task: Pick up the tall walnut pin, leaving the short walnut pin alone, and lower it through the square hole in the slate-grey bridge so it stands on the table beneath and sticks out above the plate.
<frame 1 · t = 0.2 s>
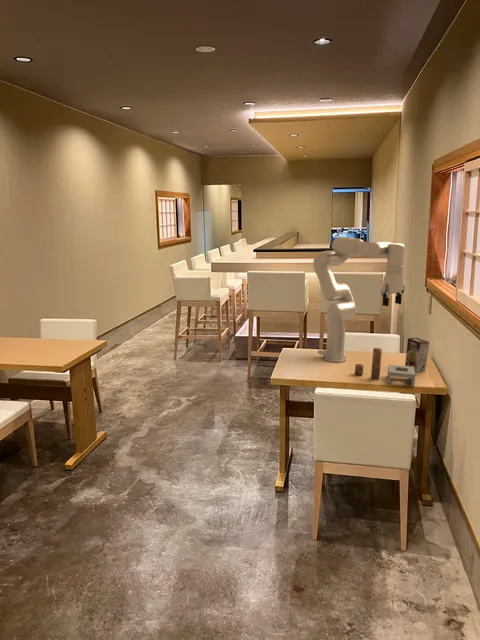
hand: (391, 304, 244), 36 cm above the table, tool pointing down, fingers open, 9 cm apart
bridge: (400, 381, 245), on the table
long pin: (375, 378, 248), on the table
short pin: (358, 374, 253), on the table
coffee box: (415, 369, 263), on the table
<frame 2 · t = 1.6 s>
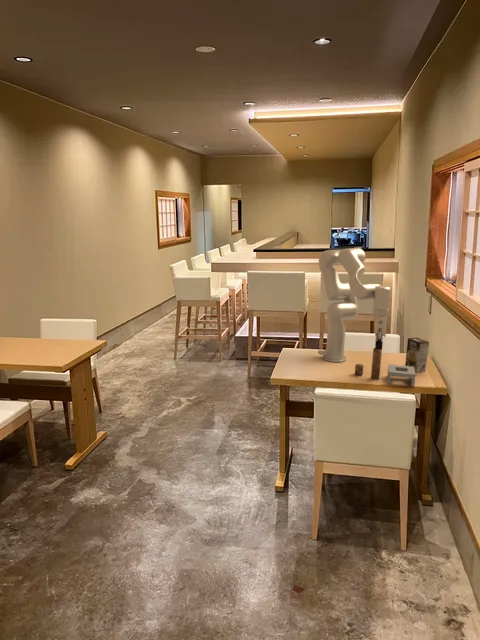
hand: (378, 346, 244), 16 cm above the table, tool pointing down, fingers open, 9 cm apart
nothing on the table moved.
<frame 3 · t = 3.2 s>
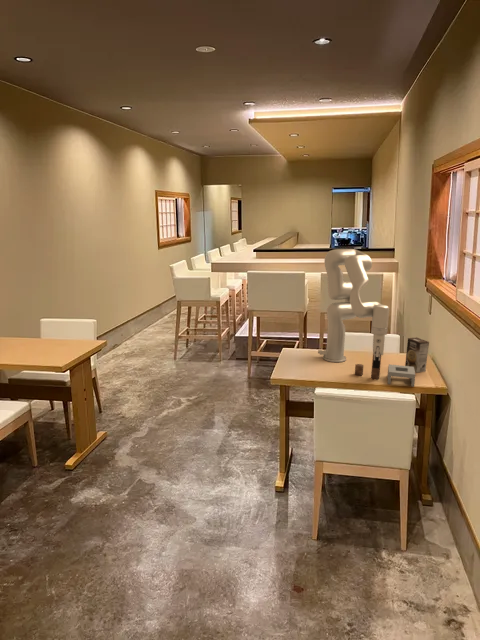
hand: (376, 366, 247), 6 cm above the table, tool pointing down, fingers closed on long pin, 4 cm apart
long pin: (375, 378, 248), on the table, touching gripper
everything else where it was.
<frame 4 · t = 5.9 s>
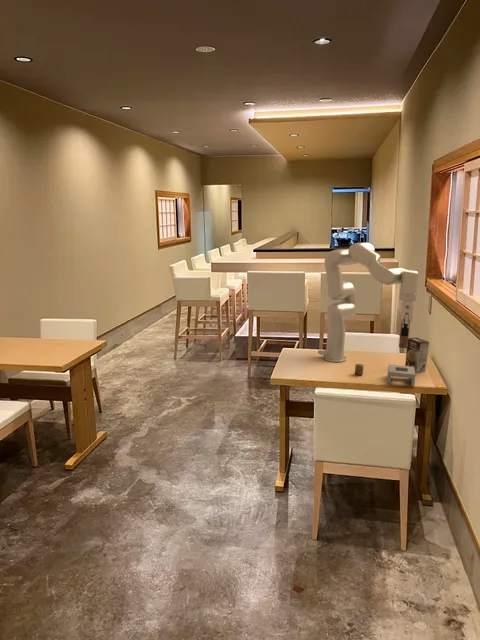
hand: (404, 334, 240), 24 cm above the table, tool pointing down, fingers closed on long pin, 4 cm apart
long pin: (403, 347, 241), point 17 cm above the table, touching gripper
everything else where it was.
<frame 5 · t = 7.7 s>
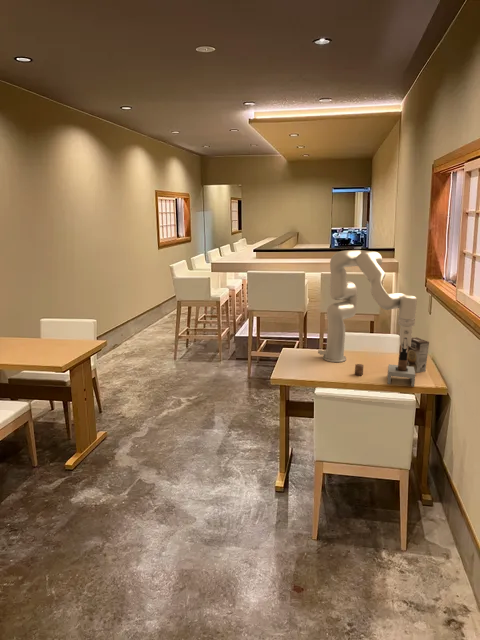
hand: (403, 358, 242), 12 cm above the table, tool pointing down, fingers closed on long pin, 4 cm apart
long pin: (401, 370, 244), point 5 cm above the table, touching gripper
everything else where it was.
when the fingers open (7 cm above the table, at t = 8.9 s): long pin stays where it is, on the table.
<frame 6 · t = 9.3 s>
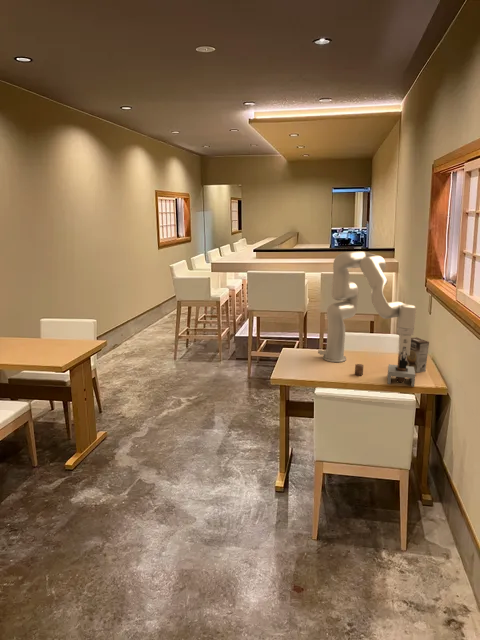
hand: (402, 365, 243), 8 cm above the table, tool pointing down, fingers open, 8 cm apart
long pin: (400, 380, 245), on the table
everything else where it was.
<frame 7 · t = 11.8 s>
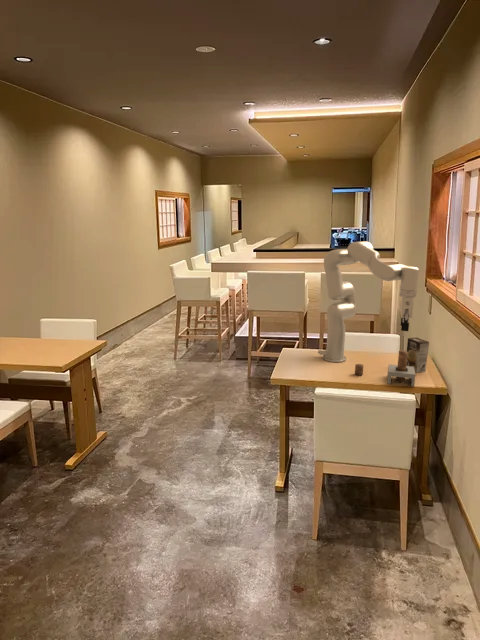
hand: (404, 328, 240), 26 cm above the table, tool pointing down, fingers open, 9 cm apart
nothing on the table moved.
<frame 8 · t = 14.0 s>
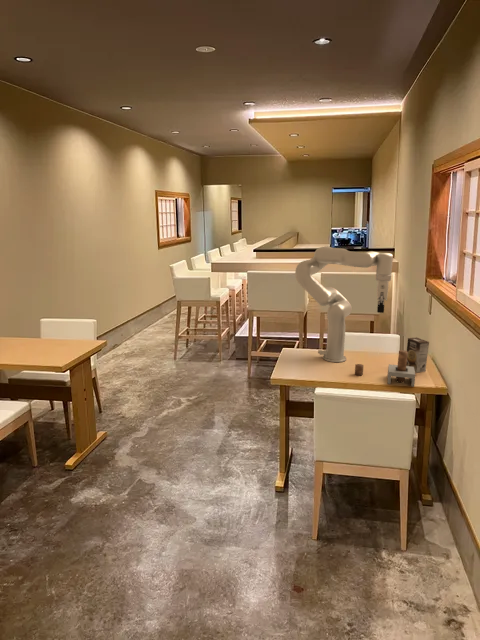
hand: (380, 310, 259), 30 cm above the table, tool pointing down, fingers open, 9 cm apart
nothing on the table moved.
at the end: long pin 0.1 cm off-centre on the bridge, point 0.0 cm above the bridge's base; long pin tilted 0°; short pin moved 0.1 cm from its start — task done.
